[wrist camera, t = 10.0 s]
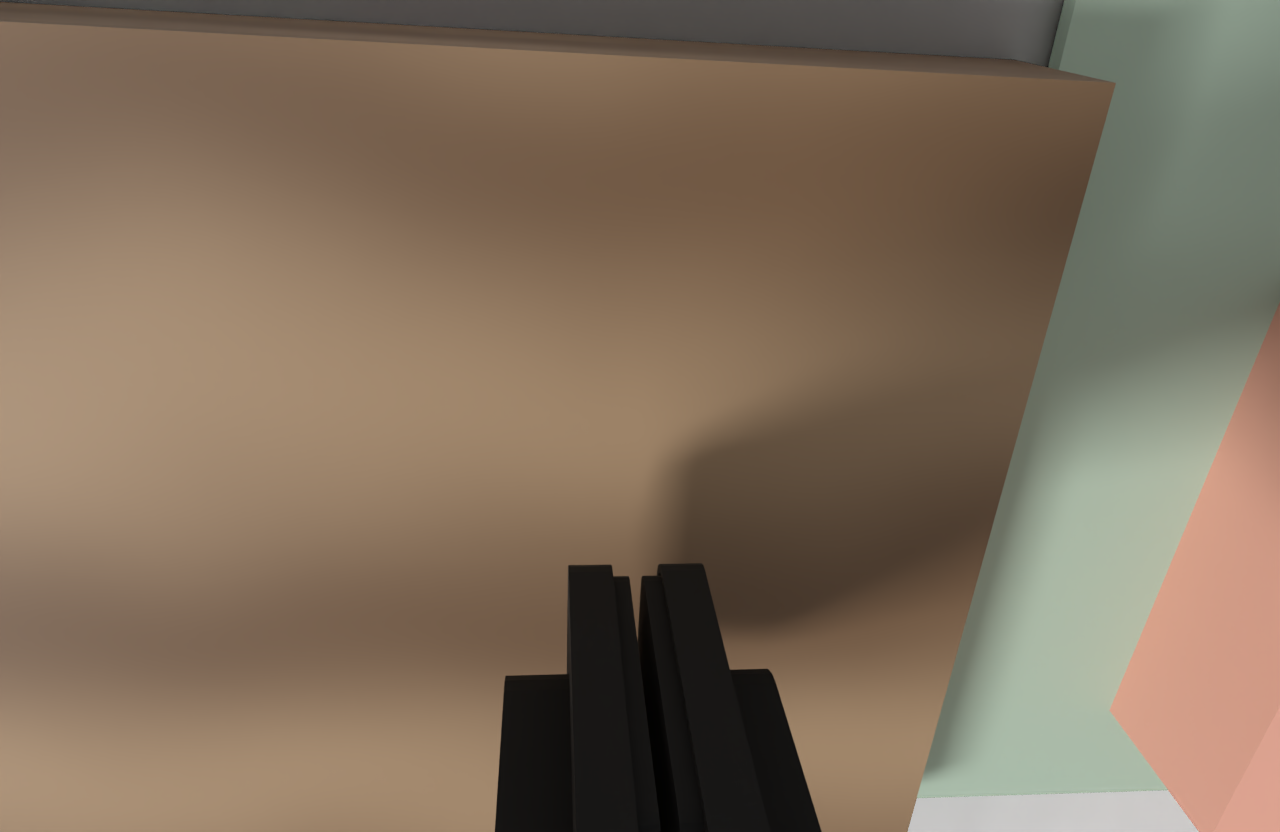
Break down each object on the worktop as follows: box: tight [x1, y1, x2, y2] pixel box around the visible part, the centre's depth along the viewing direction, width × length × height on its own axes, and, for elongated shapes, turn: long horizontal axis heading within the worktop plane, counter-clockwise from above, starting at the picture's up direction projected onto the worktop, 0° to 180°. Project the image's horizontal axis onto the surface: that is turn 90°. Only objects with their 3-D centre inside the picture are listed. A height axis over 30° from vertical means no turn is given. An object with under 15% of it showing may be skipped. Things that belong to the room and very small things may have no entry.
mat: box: [917, 0, 1280, 798], centre depth 16 cm, size 15×11×1 cm
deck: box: [0, 2, 1116, 832], centre depth 13 cm, size 14×18×2 cm
